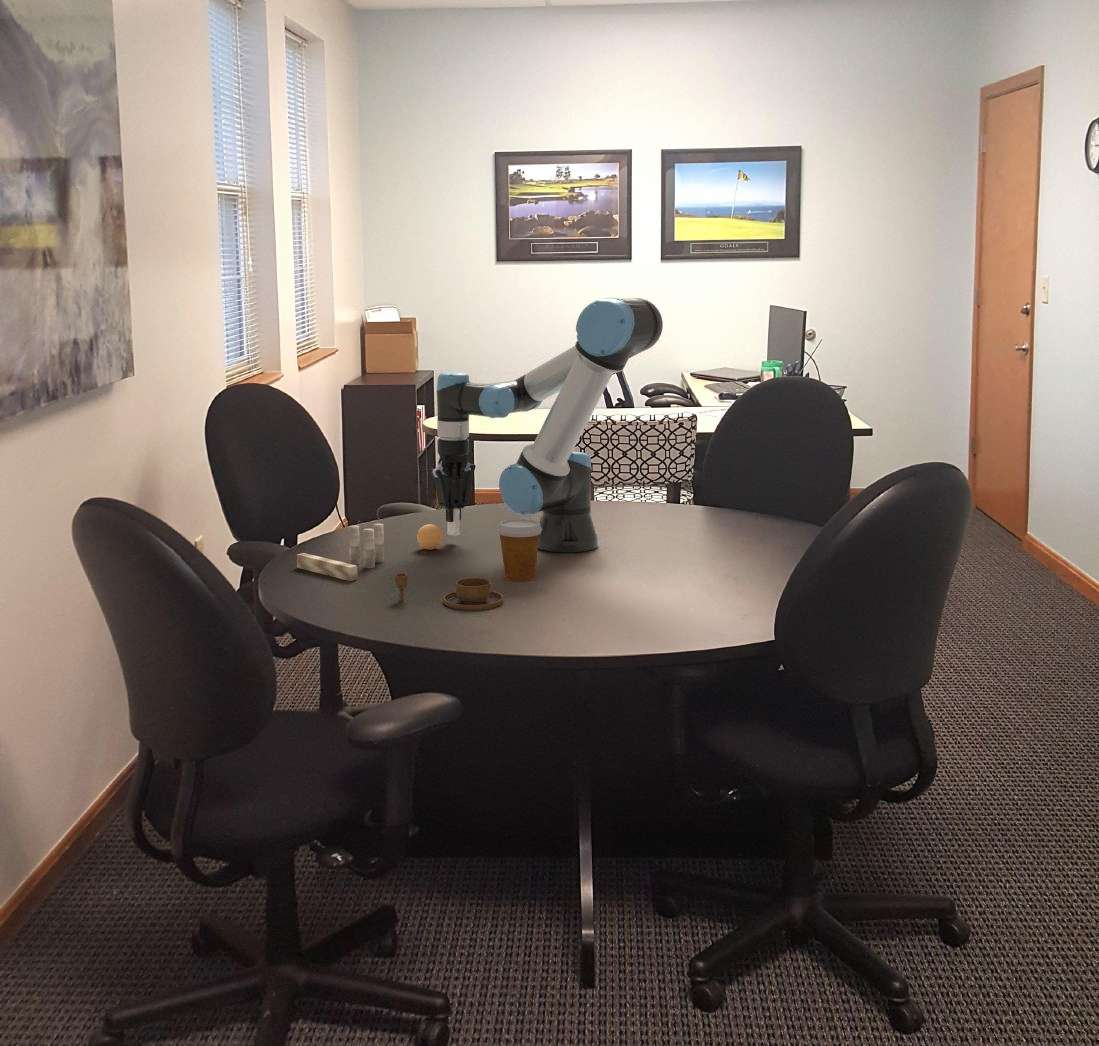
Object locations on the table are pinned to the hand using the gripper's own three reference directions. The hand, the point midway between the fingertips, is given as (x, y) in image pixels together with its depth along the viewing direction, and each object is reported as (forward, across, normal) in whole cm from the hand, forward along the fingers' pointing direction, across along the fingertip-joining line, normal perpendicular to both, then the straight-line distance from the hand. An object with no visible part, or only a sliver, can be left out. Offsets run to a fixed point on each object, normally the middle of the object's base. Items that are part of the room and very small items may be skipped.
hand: (453, 534), depth 287 cm
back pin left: (+2, +29, +4) cm, 30 cm away
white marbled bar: (+2, +39, +2) cm, 39 cm away
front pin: (+2, +24, +1) cm, 24 cm away
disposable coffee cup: (+2, +13, +35) cm, 37 cm away
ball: (-1, +8, +1) cm, 8 cm away
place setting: (+3, +35, +38) cm, 51 cm away
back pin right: (+2, +29, -1) cm, 30 cm away
